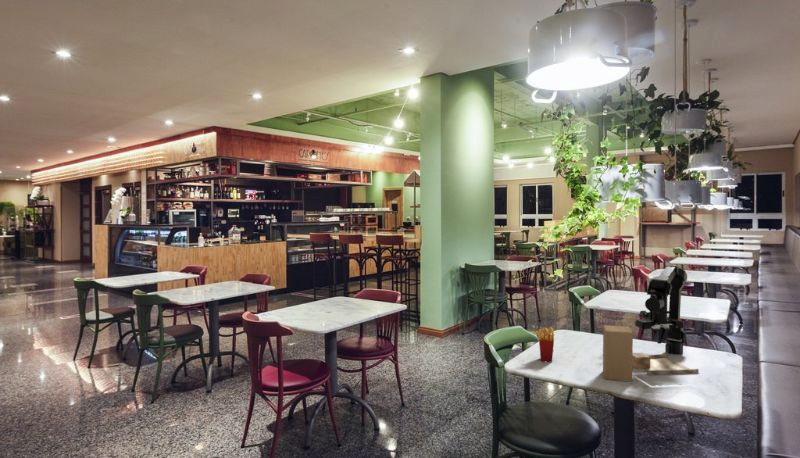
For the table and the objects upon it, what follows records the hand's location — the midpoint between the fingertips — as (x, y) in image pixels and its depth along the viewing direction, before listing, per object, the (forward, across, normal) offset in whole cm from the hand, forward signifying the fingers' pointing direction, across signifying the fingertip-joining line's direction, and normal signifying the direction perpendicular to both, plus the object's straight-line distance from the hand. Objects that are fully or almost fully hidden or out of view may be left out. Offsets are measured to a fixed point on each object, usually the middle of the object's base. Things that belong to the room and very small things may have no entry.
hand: (659, 343), depth 198 cm
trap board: (+11, 0, 0) cm, 11 cm away
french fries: (+11, +44, -16) cm, 48 cm away
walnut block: (+10, +9, 0) cm, 13 cm away
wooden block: (+11, +23, +8) cm, 27 cm away
